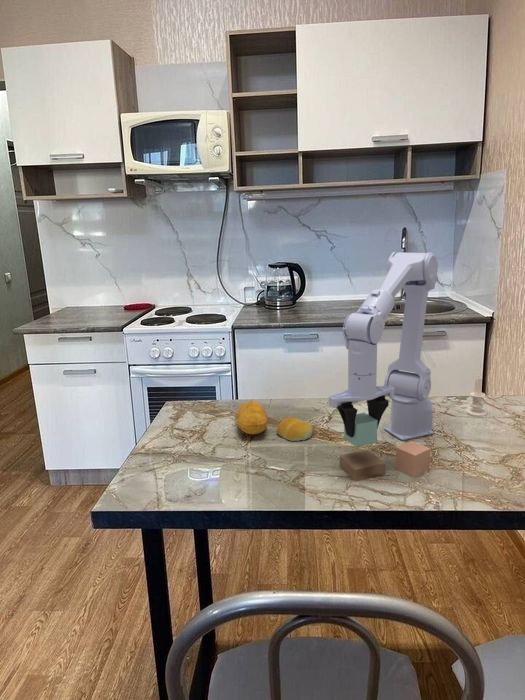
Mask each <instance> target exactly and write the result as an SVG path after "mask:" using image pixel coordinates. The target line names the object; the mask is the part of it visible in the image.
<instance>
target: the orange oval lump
mask: <svg viewBox="0 0 525 700" xmlns="http://www.w3.org/2000/svg"><path fill="white" fill-rule="evenodd" d="M236 422H237V427H238V428H239V430H241V431H243V432H244V433H245V434H249V435H258V434H260V433H262V432H265V430H266V428H267V426H268V415H267V412H266V410H265V408H264V406H262V405H261V404H260V403H259V402H258V401H256V400H255V401H254V400H253V401H252V400H251V401H246V402H244V403H242V404H241V405H240V406H238V410H237V414H236Z"/></svg>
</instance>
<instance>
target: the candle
mask: <svg viewBox="0 0 525 700" xmlns="http://www.w3.org/2000/svg"><path fill="white" fill-rule="evenodd" d="M482 380H483V378H482V377H481V378H480V377H476V378H475V382H474V391H471V392H470V393H469V395H470V396H471V397H473V398H472V402H471V403H470V405H469V406H470V407H469V408H467V409H465V413H466V415H468V416H470V417H475V418H481V417H486V416H487V414H488V412H487V411H486V410H485V409H483V408H484V404H483V403H482V402H483V398H484V397H485V396H486V393H484V392H482V387H483V386H482V383H483V382H482Z"/></svg>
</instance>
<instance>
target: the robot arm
mask: <svg viewBox="0 0 525 700" xmlns="http://www.w3.org/2000/svg"><path fill="white" fill-rule="evenodd" d="M436 256H437V255H436V254H435V253H434V252H431V251H429V252H401V251H400V252H398V251H393V252H392V253H391V254H390V255H389V257H388V260H387V265H386V266H387V269H386V271H387V273H386V274H385V278H384V279H383V281H382V283H381V284H380V287H379V288H377V289H376V288H375V289H373V290H372V291H370V292H369V294H368V295H367V297H366V298H365V299H364V301H363V303H362V304H361V305H360V307H359V308H358V310H357V311H356V312H352V313H351V314H349V315H347V316H346V318H345V319H344V322H343V325H342V326H343V327H342V329H341V330H342V336H343V339H344V341H345V348H346V350H348V351H347V352H348V356H347V357H348V358H347V360H348V361H347V362H348V364H347V365H348V366H347V370H348V371H347V379H348V380H347V388H348V389H346V390H344V391H341V392H338V393H336V394H332V395H329V396H328V405H329V406H330V407H331V408H336V409H337V411H338V413H339V415H340V416H341V420H342V422H343V426H345V431H346V434H347V435H348V436H349V437H354V432H355V418H356V414H358V410H359V409H356V407H354V403H360V402H364V401H365V402H366V405H367V412H368V413H367V414H368V415H370V416H371V417H373V418H374V419H376V420H378V422H377V430H378V429H379V425H380V422H381V419H382V416H383V415H384V413H385V412H386V410H387V408H388V407H389V403H390V402H389V400H388V399H386V397H388V398H389V399H391V413H390V414H391V416H390V417H391V418H390V425H386V426H383V430H385V431H386V432H387V433H389V434H391V435H392V436H393V437H394V436H395V437H396V438H397V439H398V440H401V441H406V440H411V439H415V438H420V437H425V436H428V435H433V434H435V433H434V432H435V431H434V430H433V429H432V428H433V411H434V410H433V404H432V401H431V399H430V398H429V395H430V393H431V390H432V381H431V375H432V373H431V369H430V368H429V367H428V366H427V365H426V364H425V363H424V362H423V361H422V360H421V353H422V346H423V337H424V329H425V321H426V320H425V319H426V311H427V305H428V303H427V302H428V298H429V297H428V296H429V291H432V290H434V289H435V287H436V284H437V277H438V276H437V275H438V266H439V265H438V264H439V263H438V259H437V257H436ZM402 289H403V291H404V293H405V300H404V301H405V302H404V308H403V309H404V311H403V319H402V329H401V338H400V345H399V346H400V347H399V354H398V358H397V359H395V360H394V361H393V362H391V363H390V364H388V368H387V371H386V375H385V377H384V382H383V383H384V384H383V385H378V386H377V373H378V372H377V367H378V366H377V365H378V343H379V342H380V340H381V339H382V337H383V332H384V328H385V326H386V322H385V321H386V320H387V318H388V316H389V315H390V314H391V313H392V310H393V309H394V308H395V297H396V295H397V294H398V293H399V292H400V291H401V290H402Z"/></svg>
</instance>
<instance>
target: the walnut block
mask: <svg viewBox="0 0 525 700" xmlns="http://www.w3.org/2000/svg"><path fill="white" fill-rule="evenodd" d="M339 468H341V469H342V470H343V471H344V472H345V473H346V474H347V475H348V476H349V477H350V478H351V479H352V480H353V481H354V482H359V481H363V480H368V479H373V478H376V477H382V476H385V475H386V462H385V461H383V460H382V459H380V458H379V456H377V455H376V454H375V453H374V452H372V451H370V450H369V449H363V450H359V451H354V452H350V453H349V452H348V453H345V454H341V455H339Z"/></svg>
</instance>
